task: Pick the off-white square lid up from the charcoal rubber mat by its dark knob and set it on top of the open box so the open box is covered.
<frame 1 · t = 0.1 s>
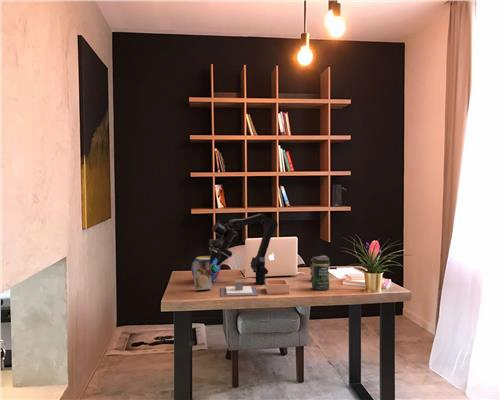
hand: (213, 264, 236), 15 cm above the table, tool tilted 35°, fingers open, 9 cm apart
lid: (238, 286, 233), on the mat
coffee box: (203, 289, 237), on the table, touching gripper
mat: (239, 291, 233), on the table
ceramic pot: (205, 282, 257), on the table
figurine: (319, 280, 260), on the table
open box: (276, 291, 235), on the table
coffee jar: (320, 289, 239), on the table
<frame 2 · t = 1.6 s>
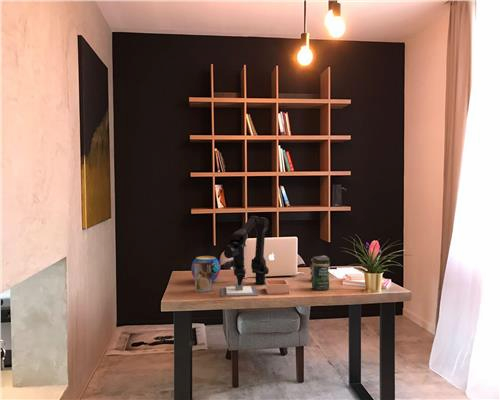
hand: (239, 283, 233), 5 cm above the table, tool pointing down, fingers open, 9 cm apart
coffee box: (203, 290, 237), on the table
everything else where it was.
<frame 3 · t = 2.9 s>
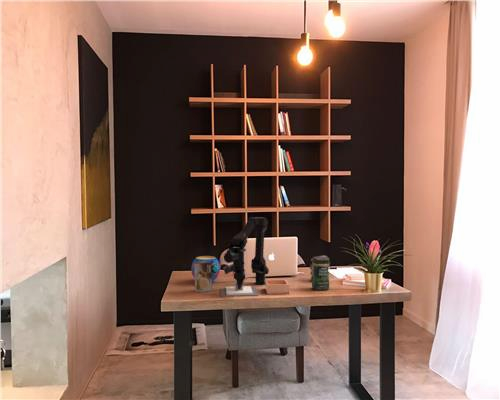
hand: (239, 288, 233), 2 cm above the table, tool pointing down, fingers closed on lid, 4 cm apart
lid: (238, 286, 233), on the mat, touching gripper
everything else where it was.
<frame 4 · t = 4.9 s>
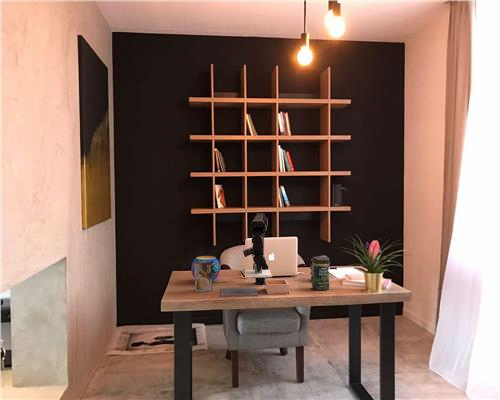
hand: (258, 271, 233), 11 cm above the table, tool pointing down, fingers closed on lid, 4 cm apart
lid: (258, 269, 233), point 12 cm above the table, touching gripper
everything else where it was.
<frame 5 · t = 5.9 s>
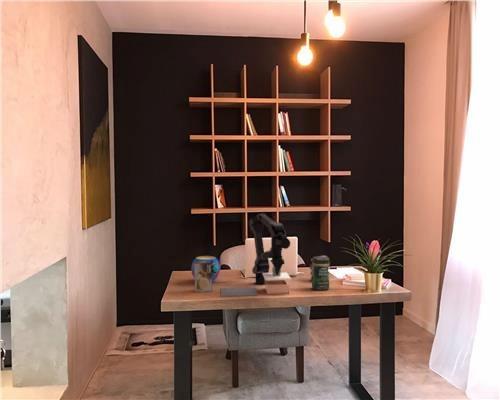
hand: (276, 274, 234), 10 cm above the table, tool pointing down, fingers closed on lid, 4 cm apart
lid: (276, 272, 234), point 11 cm above the table, touching gripper
everything else where it was.
when the fingers open (8 cm above the table, at t = 6.8 s): lid drops 1 cm, resting on open box.
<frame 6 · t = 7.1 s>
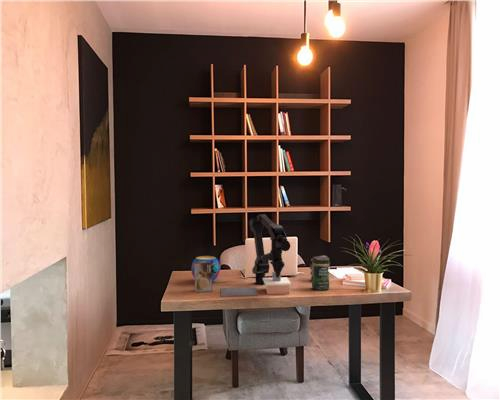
hand: (276, 276, 234), 8 cm above the table, tool pointing down, fingers open, 7 cm apart
lid: (276, 277, 234), on the open box, point 8 cm above the table
everything else where it was.
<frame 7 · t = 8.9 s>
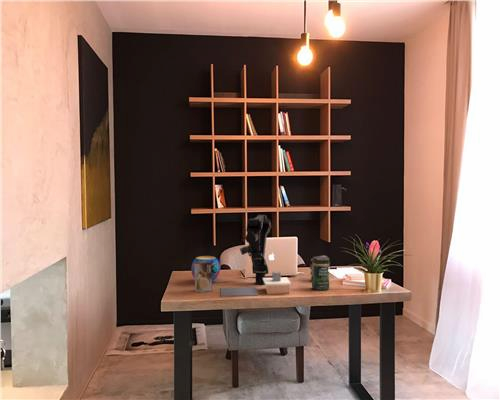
hand: (255, 268, 238), 12 cm above the table, tool pointing down, fingers open, 9 cm apart
nothing on the table moved.
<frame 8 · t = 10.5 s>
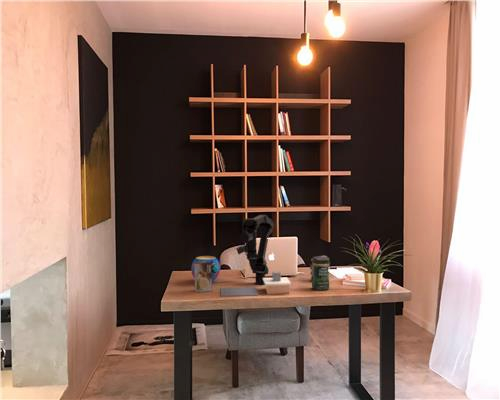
hand: (251, 268, 239), 12 cm above the table, tool pointing down, fingers open, 9 cm apart
nothing on the table moved.
at the end: lid 0.1 cm off-centre on the open box, point 7.7 cm above the open box's base; lid tilted 0°; the gripper is holding nothing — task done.
